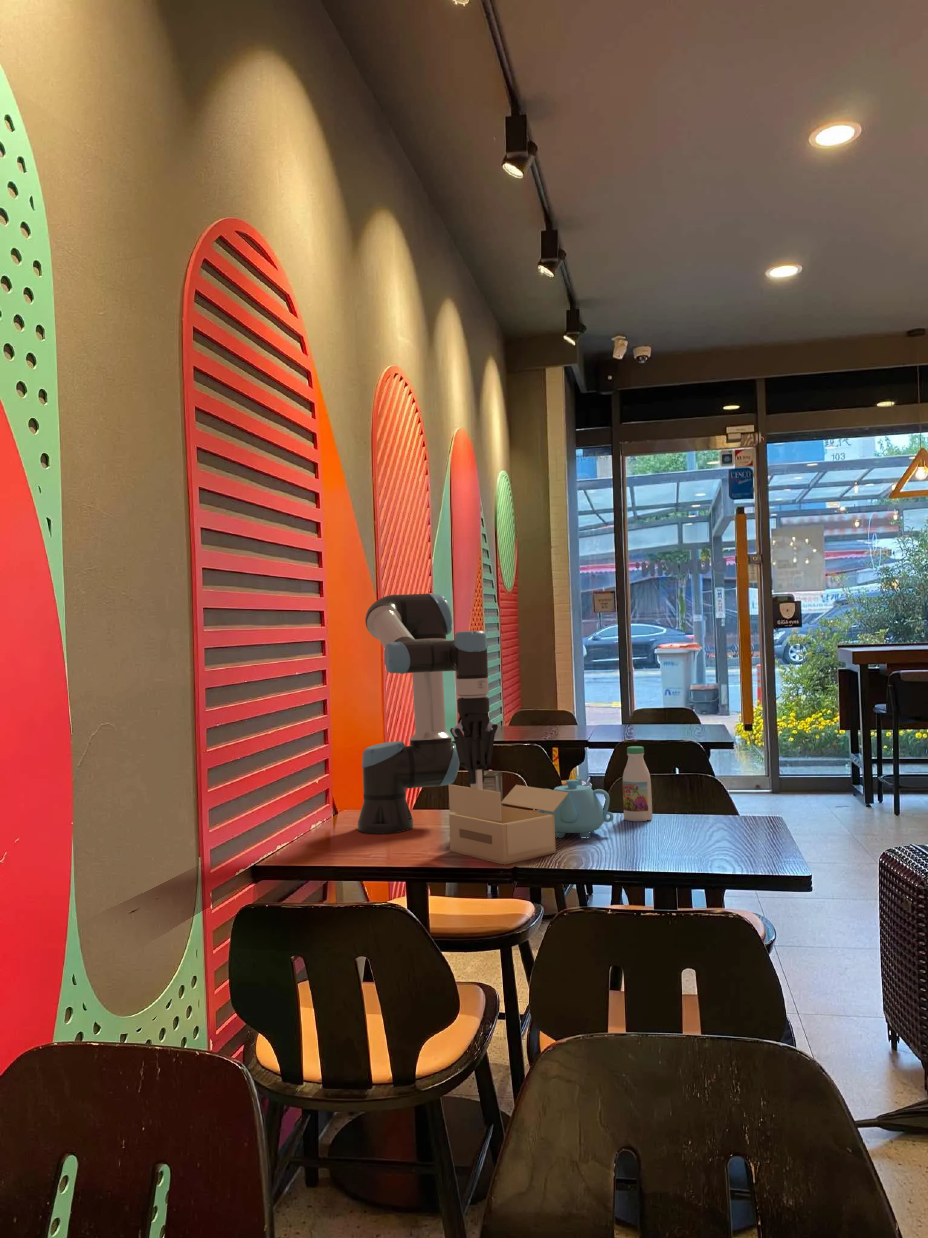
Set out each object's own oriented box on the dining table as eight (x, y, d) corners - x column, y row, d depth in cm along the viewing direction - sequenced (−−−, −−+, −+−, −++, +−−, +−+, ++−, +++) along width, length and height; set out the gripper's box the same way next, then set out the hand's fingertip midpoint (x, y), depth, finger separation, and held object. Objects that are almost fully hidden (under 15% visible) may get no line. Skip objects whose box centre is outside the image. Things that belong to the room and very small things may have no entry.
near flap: (449, 811, 228) (448, 784, 228) (450, 811, 228) (449, 784, 228) (500, 821, 213) (499, 792, 213) (501, 821, 213) (500, 792, 213)
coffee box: (480, 831, 251) (478, 771, 252) (504, 831, 250) (502, 770, 251) (474, 838, 242) (472, 776, 243) (498, 838, 241) (496, 775, 242)
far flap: (500, 802, 238) (516, 784, 241) (501, 803, 238) (516, 785, 242) (552, 811, 223) (568, 792, 227) (553, 812, 223) (568, 793, 227)
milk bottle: (631, 816, 266) (628, 744, 266) (657, 818, 261) (654, 745, 262) (619, 820, 260) (616, 747, 260) (645, 823, 255) (642, 748, 256)
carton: (449, 851, 229) (448, 814, 229) (500, 841, 238) (498, 805, 239) (504, 865, 212) (503, 824, 213) (556, 853, 222) (555, 815, 222)
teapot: (582, 825, 255) (580, 773, 256) (623, 837, 237) (621, 781, 238) (529, 832, 248) (527, 778, 249) (567, 845, 231) (565, 787, 231)
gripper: (461, 698, 215) (465, 802, 214) (504, 695, 223) (508, 795, 222) (441, 698, 221) (445, 799, 220) (483, 694, 229) (487, 792, 228)
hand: (476, 797), depth 221 cm, fingers closed
